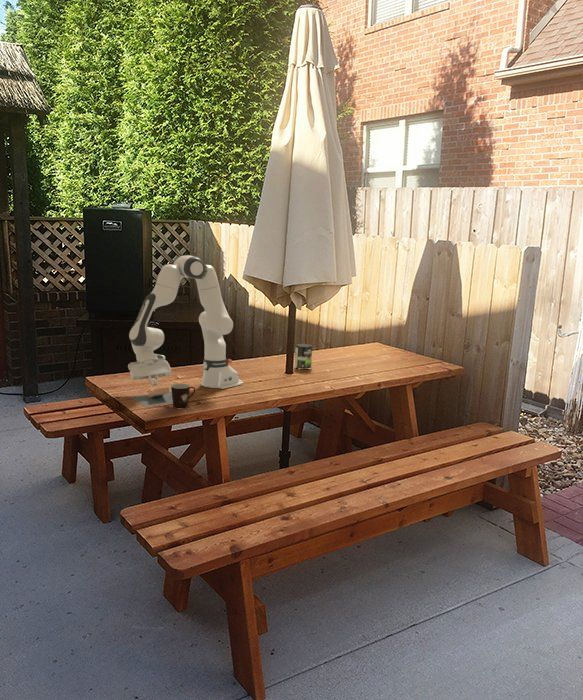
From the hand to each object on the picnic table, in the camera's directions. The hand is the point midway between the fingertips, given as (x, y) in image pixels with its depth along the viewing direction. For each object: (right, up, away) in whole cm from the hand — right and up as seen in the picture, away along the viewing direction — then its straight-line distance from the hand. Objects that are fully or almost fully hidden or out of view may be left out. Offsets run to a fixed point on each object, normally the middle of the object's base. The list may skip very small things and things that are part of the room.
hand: (155, 384), depth 309 cm
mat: (+2, -7, -2) cm, 7 cm away
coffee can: (+73, +6, +75) cm, 104 cm away
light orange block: (0, -5, +1) cm, 5 cm away
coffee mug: (+16, -10, -11) cm, 22 cm away
